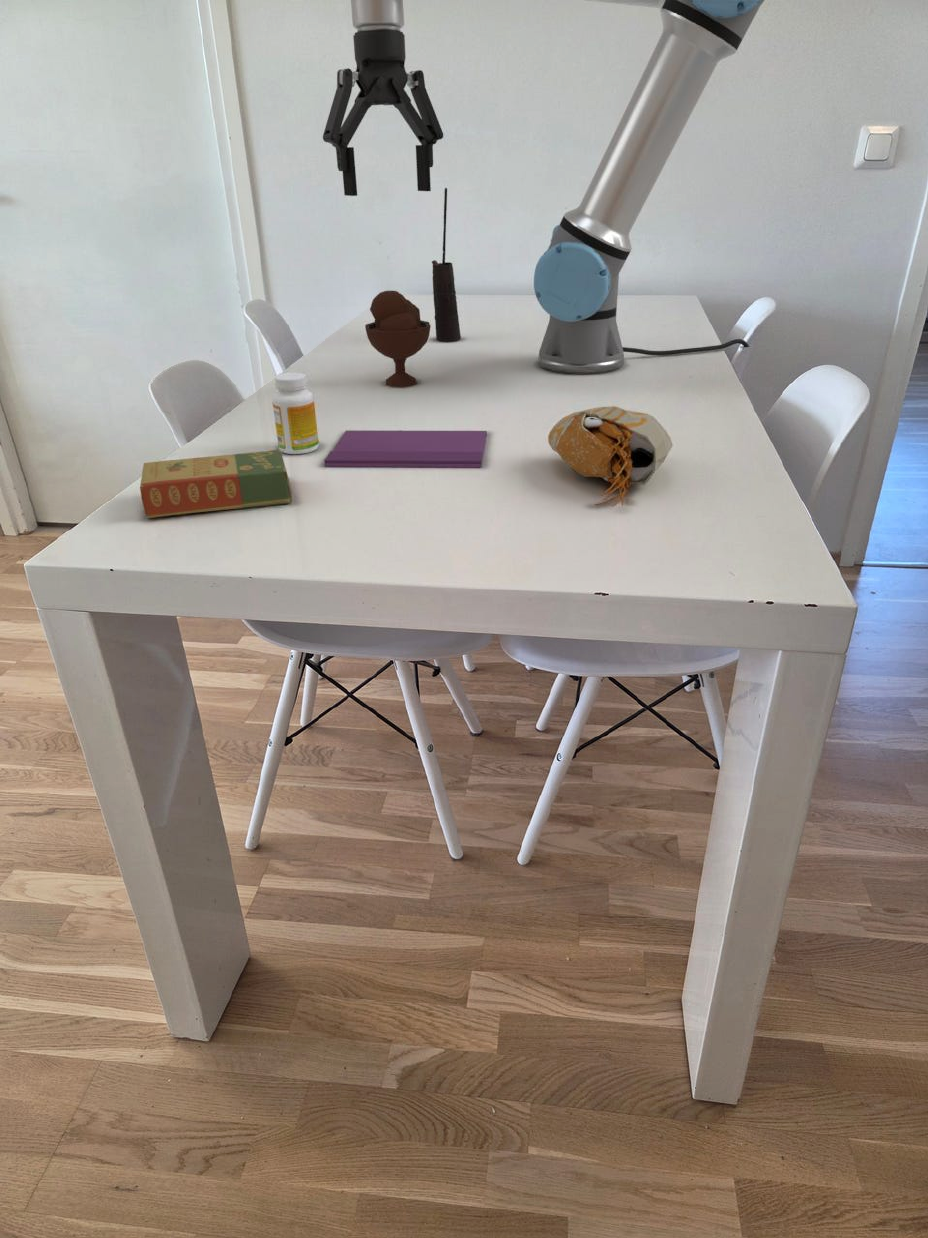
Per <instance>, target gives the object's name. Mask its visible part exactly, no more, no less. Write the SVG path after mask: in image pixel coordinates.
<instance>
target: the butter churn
mask: <svg viewBox="0 0 928 1238" xmlns="http://www.w3.org/2000/svg"><path fill="white" fill-rule="evenodd" d="M443 194H444V198H443V199H444V202H443V232H442V233H443V234H442V235H443V236H442V259H441V260H442V261H441V262H439V263H438V261H437V260H434V259H433V260H432V261H431V265H432V294H433V306H434V307H433V309H434V322H435V323H434V325H435V339H436V341H437V342H441V343H452V342H458V341H460V340H461V339H462V336H461V329H460V328H461V327H460V319H459V311H458V310H459V309H458V301H457V295H456V294H457V291H456V284H455V274H454V267H453V263H452V262H449V261H447V262H446V244H447V243H446V241H447V240H446V238H447V236H446V234H447V212H448V211H447V210H448V209H447V207H448V187H445V188H444V193H443Z"/></svg>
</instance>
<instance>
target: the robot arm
mask: <svg viewBox="0 0 928 1238" xmlns="http://www.w3.org/2000/svg"><path fill="white" fill-rule="evenodd" d="M584 1H587V2H595V3H606V4H614V5H615V4H616V5H617V4H618V5H626V6H635V7H647V8H655V9H659V10H660V11H659V12H660V18H661V23H662V33H661V35H660V36H659V39H658V41H657V43H656V46H655V47H654V49H653V52H652V54H651V56H650V58H649V59H648V62H647V64H646V67H645V69H644V70H643V73H642V74H641V76H640V79H639V80H638V83H637V85H636V87H635V90H634V91H633V94H632V96H631V98H630V100H629V102H628V104H627V106H626V108H625V110H624V111H623V114H622V116H621V118H620V121H619V123H618V124H617V126H616V129H615V131H614V133H613V135H612V137H611V139H610V141H609V143H608V146H607V148H606V150H605V152H604V154H603V156H602V158H601V160H600V161H599V164H598V166H597V168H596V170H595V172H594V175H593V177H592V179H591V181H590V183H589V185H588V188H587V189H586V192H585V194H584V196H583V198H582V200H581V202H580V204H579V205H578V206H577V207H576V208H573V209H570V210H568V211H567V212H565V213H564V215H563V216H562V218H561V221H560V222H559V224H557V225H556V226H554V227H553V229H552V233H551V239H550V244H549V246H548V248H547V250H545V252H543V254H542V255H541V256H540V258H539V259H538V261H537V263H536V266H535V269H534V272H533V273H534V274H533V290H534V294H535V298H536V299H537V302H538V304H539V305H540V307H541V308H542V309H543V310H544V312H546V313H547V314H548V315H549V320H548V323H547V326H546V330H545V332H544V336H543V339H542V342H541V344H540V347H539V350H538V357H537V358H538V360H537V361H538V362H537V364H538V365H539V367H541V368H543V369H544V370H547V371H551V372H556V373H564V374H576V375H577V374H582V375H583V374H584V375H586V374H587V375H588V374H601V373H607V372H612V371H616V370H618V369H621V368H622V367H623V366H624V361H625V360H624V359H625V353H633V354H640V355H646V356H647V355H648V356H671V355H681V354H689V353H691V354H692V353H700V352H701V353H702V352H709V351H718V350H723V349H726V348H728V347H731V346H733V345H736V344H740V345H742V346H743V347H744V348H750V345H749V343H748V342H747V341H746V340H744V339H741V338H736V339H731V340H729V341H727V342H724V343H722V344H716V345H709V346H708V345H707V346H700V347H689V348H678V349H670V350H649V349H643V348H635V347H626V346H623V345H622V344H623V343H622V339H621V336H620V332H619V327H618V323H617V310H618V309H617V308H618V294H619V281H620V280H619V279H620V272H621V271H622V269H623V267H624V265H625V263H626V261H627V260H628V257H629V256H630V253H631V252H632V250H633V248H632V244H631V243H632V242H631V239H630V232H631V231H632V228H633V226H634V225H635V222H636V221H637V219H638V217H639V216H640V213H641V211H642V210H643V207H644V206H645V204H646V202H647V200H648V198H649V196H650V194H651V192H652V190H653V188H654V186H655V184H656V182H657V181H658V178H659V176H660V175H661V173H662V171H663V169H664V167H665V165H666V163H667V161H668V159H669V157H670V156H671V153H672V151H673V150H674V148H675V146H676V144H677V142H678V140H679V139H680V136H681V134H682V133H683V131H684V129H685V127H686V125H687V123H688V120H689V119H690V117H691V115H692V114H693V111H694V109H695V107H696V106H697V104H698V102H699V100H700V98H701V96H702V94H703V92H704V90H705V88H706V86H707V84H708V82H709V80H710V79H711V76H712V74H713V73H714V71H715V69H716V67H717V65H718V63H719V62H720V61H722V60H723V59H726V58H728V57H730V56H732V55H735V54H736V53H737V51H738V49H739V48H740V45H741V43H742V41H743V40H744V38H745V36H746V34H747V32H748V30H749V28H750V26H751V24H752V23H753V21H754V18H755V17H756V15H757V13H758V12H759V9H760V8H761V6H762V5H763V4H764V1H765V0H584ZM350 6H351V21H352V27H353V28H354V30H355V29H356V32H354V35H352V39H353V51H354V60H355V65H356V68H355V71H354V70H352V69H351V68H349V67H347V68H342V69H341V68H340V69H338V70H337V72H336V90H335V93H334V96H333V100H332V103H331V107H330V110H329V114H328V117H327V121H326V124H325V127H324V130H323V134H322V140H323V141H324V143H328V144H331V146H332V147H333V148H335V154H336V162H337V164H336V166H337V170H338V172H342V183H343V194H344V196H345V197H346V196H347V197H348V196H349V197H357V196H358V188H357V187H358V186H357V173H356V161H355V148H354V146H350V147H349V145H350V142H352V141H351V140H352V139H353V138H354V135H355V133H356V131H357V130H358V128H359V127H360V125H361V123H362V121H363V119H364V118H365V115H366V114H367V112H368V110H369V109H370V108H371V107H372V106H393V107H394V108H395V109H397V110H398V112H399V113H400V115H401V116H402V118H403V119H404V121H405V122H406V124H407V125H408V127H409V128H410V130H411V131H412V133H413V134H414V136H415V137H416V139H417V140H418V141H419V143H420V144H415V161H416V163H415V164H416V182H417V183H416V184H417V185H416V186H417V191H418V192H431V191H432V187H431V168H433V166H434V145H436V144H437V143H438V141H439V140H442V139H443V138H444V132H443V129H442V127H441V124H440V121H439V120H438V116H437V114H436V111H435V109H434V107H433V103H432V102H431V101H432V100H431V99H430V95H429V94H428V90H427V88H426V83H425V75H424V71H423V70H421V69H418V70H417V69H416V70H411V71H409V72H407V71H406V67H405V63H406V59H407V58H406V57H407V55H406V39H405V38H406V36H405V35H406V34H404V32H403V31H401V29H402V28H404V26H405V15H404V14H405V12H404V0H350ZM355 84H356V86H358V88H359V91H358V93H357V96H356V98H355V99H354V101H353V102H354V103H353V105H352V107H351V109H350V111H349V112H348V114H347V115H346V112H347V108H348V105H349V102H350V99H351V95H352V91H353V88H354V87H355ZM406 86H407V87H408V88H409V89H410V93H411V96H412V99H413V101H414V103H415V106H416V108H417V110H416V108H415V107H414V105H413V104H412V99H411V97H410V96H409V94H408V92H406V90H405V88H406ZM345 115H346V118H345ZM344 118H345V119H344Z"/></svg>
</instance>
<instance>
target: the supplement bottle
mask: <svg viewBox="0 0 928 1238" xmlns="http://www.w3.org/2000/svg"><path fill="white" fill-rule="evenodd" d="M274 384H275V388H276V390H277V392H275V393H274V394H273V395H272V399H271V401H272V408H273V415H274V424H275V431H276V438H277V445H278V450H281V453H283V454H287V455H301V454H302V455H303V454H307V453H308V454H309V453H311V452H314V451H316V450H317V449H318V448H319V446H320V443H319V442H320V441H319V433H318V424H317V415H316V407H315V399H314V395H313V392H311V391H310V390H308V389H306V388H307V387H308V385H307V384H308V381H307V375H306V374H305V373H301V372H286V373H280V374H276V376H274Z"/></svg>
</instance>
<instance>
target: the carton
mask: <svg viewBox="0 0 928 1238" xmlns="http://www.w3.org/2000/svg"><path fill="white" fill-rule="evenodd" d="M282 453H283V452H282V451H281V450H280V449H274V450H264V451H263V450H262V451H253V452H244V453H243V452H242V453H231V454H222V455H214V456H213V455H212V456H211V455H210V456H202V457H200V456H199V457H191V458H182V459H181V458H180V459H171V460H159V461H151V462H144V463H143V465H142V471H141V472H142V473H141V479H140V484H139V485H140V486H139V490H140V497H141V501H142V502H141V503H142V506H143V511H144V515H145V518H147V519H151V518H158V517H159V518H160V517H167V516H175V515H177V516H178V515H186V514H194V513H202V512H214V511H225V510H237V509H247V508H249V509H250V508H259V507H267V506H279V505H287V504H291V502H293V493H292V488H291V483H290V478H289V475H288V471H287V468H286V464H285V460H284V457H283V454H282Z"/></svg>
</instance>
